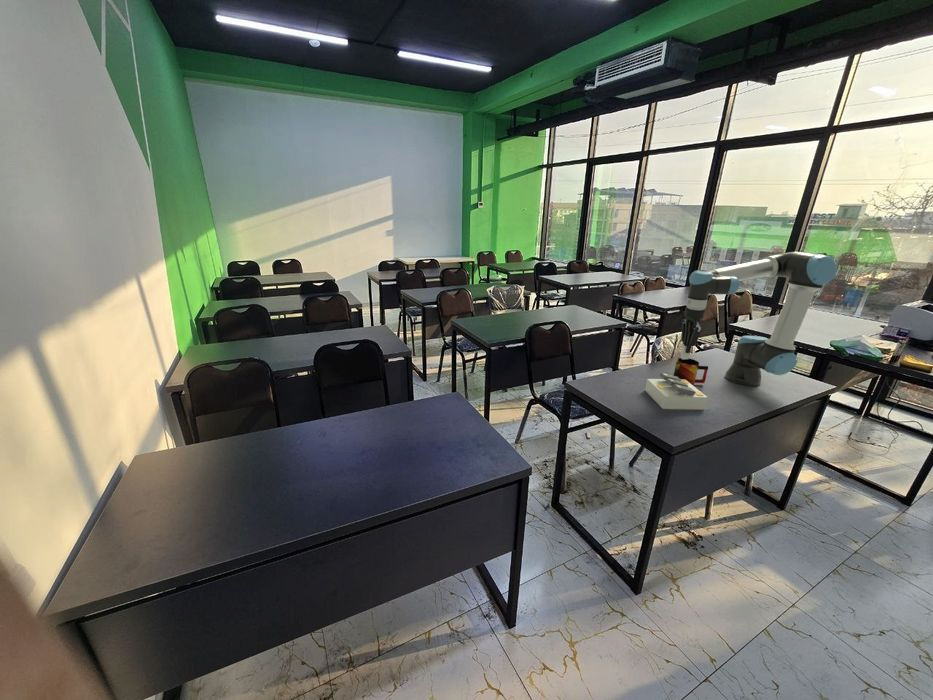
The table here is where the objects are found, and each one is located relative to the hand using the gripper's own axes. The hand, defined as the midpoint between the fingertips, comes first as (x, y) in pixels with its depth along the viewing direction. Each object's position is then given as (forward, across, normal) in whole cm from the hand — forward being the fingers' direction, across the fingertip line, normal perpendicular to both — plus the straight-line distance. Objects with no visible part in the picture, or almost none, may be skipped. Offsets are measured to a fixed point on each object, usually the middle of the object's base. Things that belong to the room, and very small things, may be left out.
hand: (684, 358), depth 179 cm
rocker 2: (+10, +6, -5) cm, 12 cm away
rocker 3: (+10, +12, -5) cm, 16 cm away
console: (+18, +6, -5) cm, 19 cm away
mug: (+18, -12, +10) cm, 24 cm away
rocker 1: (+10, 0, -5) cm, 11 cm away
